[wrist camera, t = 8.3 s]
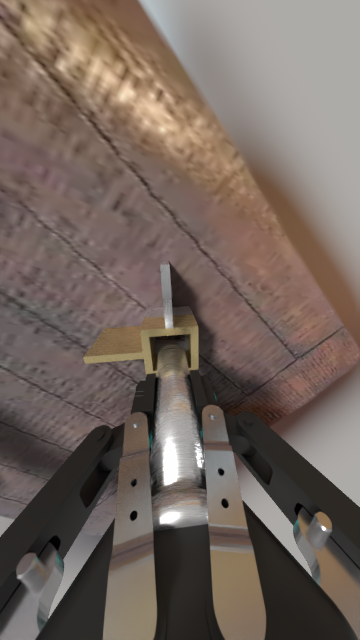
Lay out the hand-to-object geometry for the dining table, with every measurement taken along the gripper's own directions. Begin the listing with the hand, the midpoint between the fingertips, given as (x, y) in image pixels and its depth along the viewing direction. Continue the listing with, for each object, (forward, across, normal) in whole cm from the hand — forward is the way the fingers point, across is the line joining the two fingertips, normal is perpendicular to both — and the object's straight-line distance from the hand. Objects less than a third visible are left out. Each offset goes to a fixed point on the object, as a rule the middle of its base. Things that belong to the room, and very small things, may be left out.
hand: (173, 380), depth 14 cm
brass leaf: (+11, +3, 0) cm, 12 cm away
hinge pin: (+4, 0, 0) cm, 4 cm away
